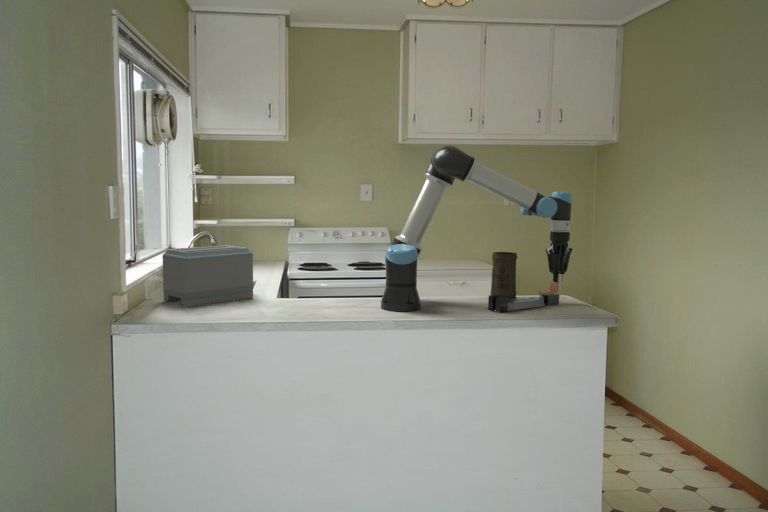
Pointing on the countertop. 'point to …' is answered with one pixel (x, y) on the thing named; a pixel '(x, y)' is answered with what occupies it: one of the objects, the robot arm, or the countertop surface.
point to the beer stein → (504, 274)
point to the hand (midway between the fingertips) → (557, 289)
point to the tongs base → (548, 299)
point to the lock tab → (551, 288)
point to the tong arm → (517, 304)
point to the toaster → (207, 275)
